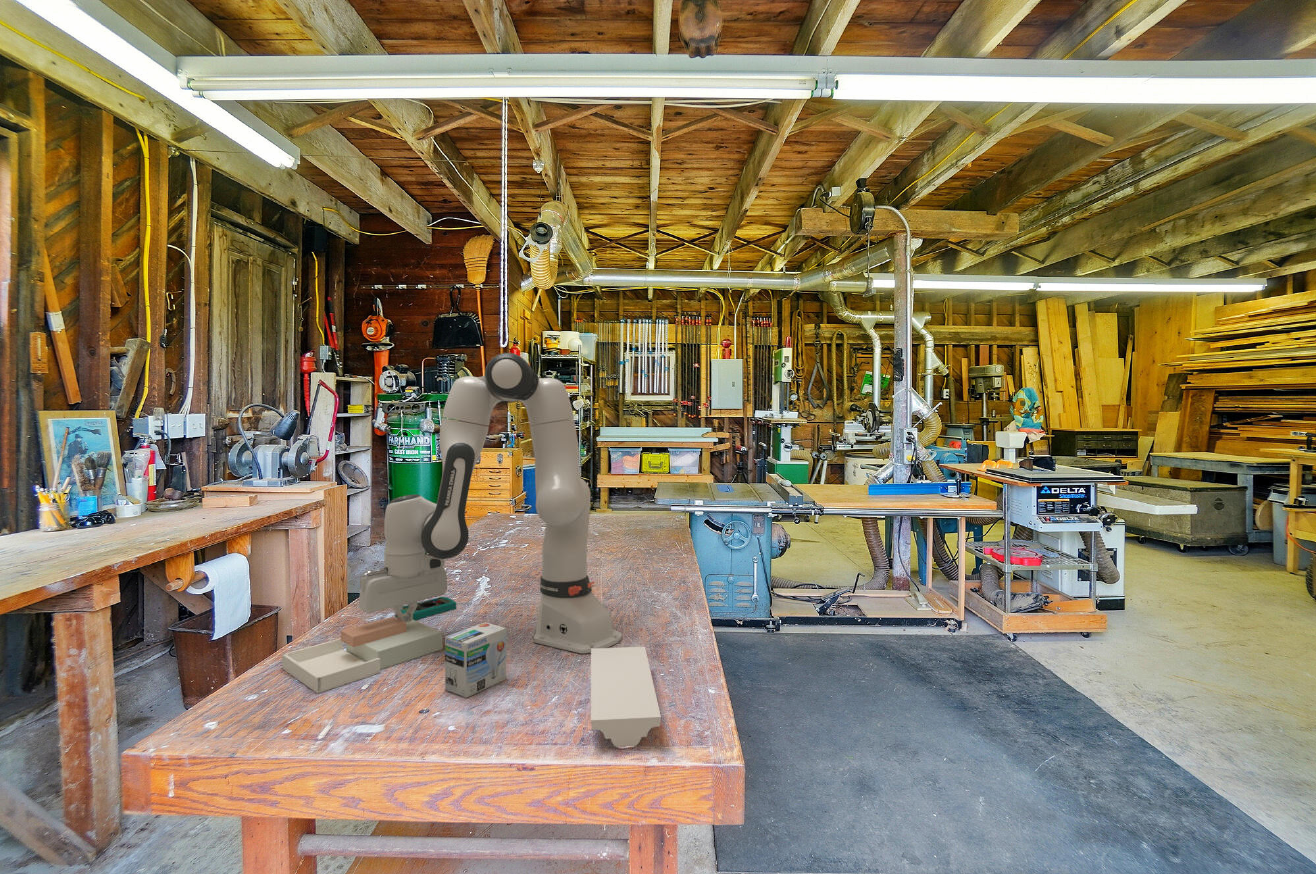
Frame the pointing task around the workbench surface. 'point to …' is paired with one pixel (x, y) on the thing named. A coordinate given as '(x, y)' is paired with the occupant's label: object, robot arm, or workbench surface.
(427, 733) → the workbench surface
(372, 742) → the workbench surface
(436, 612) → the digital multimeter
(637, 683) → the beige molded block
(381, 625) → the tile
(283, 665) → the tray
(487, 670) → the light bulb box
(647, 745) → the workbench surface
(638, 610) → the workbench surface
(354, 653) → the board
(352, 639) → the tile
